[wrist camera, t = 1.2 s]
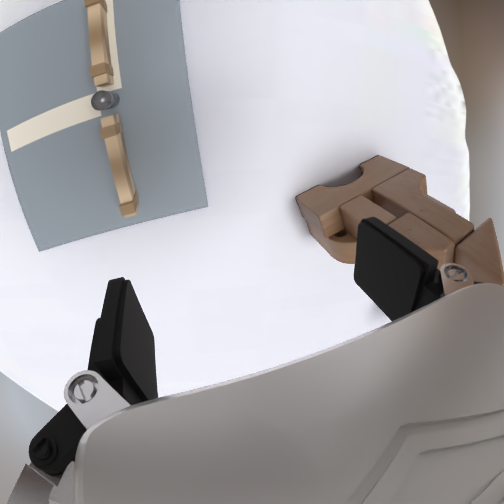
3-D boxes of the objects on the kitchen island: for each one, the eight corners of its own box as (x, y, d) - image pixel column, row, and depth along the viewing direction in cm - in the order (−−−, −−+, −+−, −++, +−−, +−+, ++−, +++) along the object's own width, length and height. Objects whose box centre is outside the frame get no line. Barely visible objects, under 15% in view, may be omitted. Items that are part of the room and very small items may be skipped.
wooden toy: (309, 237, 39) (433, 379, 18) (294, 196, 35) (445, 338, 14) (394, 190, 39) (529, 281, 18) (387, 150, 35) (545, 230, 15)
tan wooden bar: (106, 116, 24) (97, 119, 20) (119, 113, 24) (112, 115, 20) (127, 205, 29) (123, 221, 26) (139, 202, 29) (136, 217, 26)
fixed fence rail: (114, 83, 22) (106, 81, 19) (101, 87, 22) (91, 86, 19) (106, 1, 17) (98, -12, 13) (93, 5, 17) (84, -7, 13)
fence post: (102, 94, 23) (89, 94, 18) (119, 89, 23) (109, 87, 19) (105, 110, 24) (92, 113, 19) (121, 106, 24) (112, 107, 20)
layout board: (-6, 38, 14) (-9, 38, 13) (176, -28, 18) (176, -30, 17) (40, 249, 29) (38, 252, 28) (207, 204, 33) (208, 207, 32)
